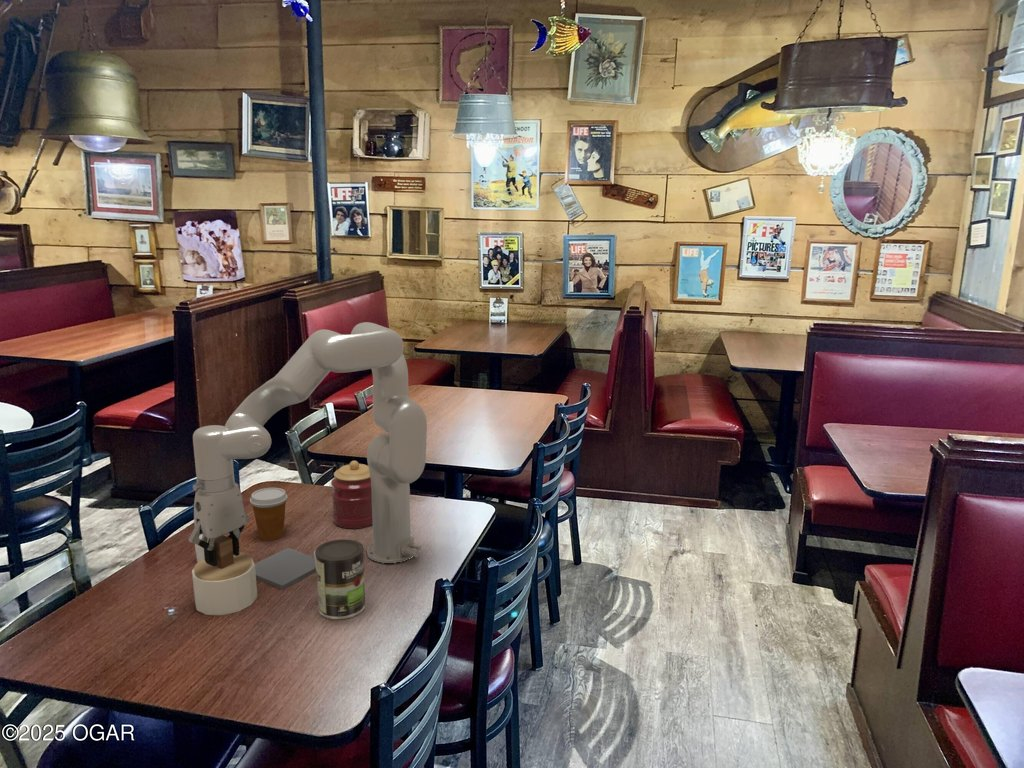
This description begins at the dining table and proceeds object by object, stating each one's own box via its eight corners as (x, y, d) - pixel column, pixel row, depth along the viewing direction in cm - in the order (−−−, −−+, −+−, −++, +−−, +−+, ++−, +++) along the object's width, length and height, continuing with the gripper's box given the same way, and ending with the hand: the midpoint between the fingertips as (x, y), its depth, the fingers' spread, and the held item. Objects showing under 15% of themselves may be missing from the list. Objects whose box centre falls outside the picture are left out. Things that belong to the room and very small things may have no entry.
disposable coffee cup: (244, 539, 197) (241, 497, 194) (269, 525, 205) (266, 484, 202) (273, 545, 193) (270, 503, 190) (297, 531, 202) (294, 490, 199)
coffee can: (375, 603, 166) (373, 546, 163) (342, 625, 157) (339, 564, 154) (341, 590, 171) (339, 534, 168) (308, 610, 163) (304, 552, 159)
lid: (263, 563, 167) (261, 536, 165) (217, 586, 157) (215, 557, 155) (228, 550, 173) (226, 523, 171) (182, 571, 163) (179, 542, 161)
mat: (327, 565, 183) (326, 561, 183) (282, 589, 171) (282, 585, 171) (288, 551, 190) (287, 547, 190) (242, 573, 179) (242, 569, 178)
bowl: (268, 595, 169) (266, 563, 167) (220, 621, 158) (217, 587, 156) (231, 580, 175) (229, 549, 173) (183, 604, 165) (179, 571, 163)
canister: (357, 506, 218) (355, 450, 214) (389, 518, 211) (387, 459, 207) (323, 521, 208) (320, 462, 204) (355, 533, 201) (352, 472, 196)
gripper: (191, 499, 151) (199, 579, 155) (259, 474, 165) (265, 548, 170) (169, 491, 155) (177, 570, 159) (237, 467, 169) (243, 540, 173)
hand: (222, 558), depth 164 cm, fingers open, 5 cm apart
